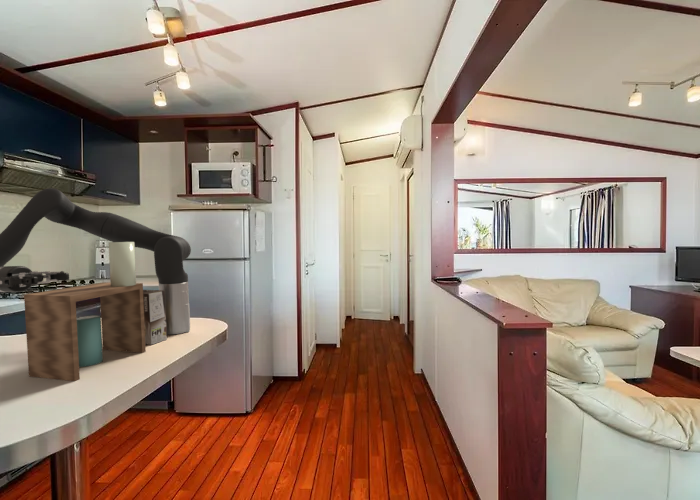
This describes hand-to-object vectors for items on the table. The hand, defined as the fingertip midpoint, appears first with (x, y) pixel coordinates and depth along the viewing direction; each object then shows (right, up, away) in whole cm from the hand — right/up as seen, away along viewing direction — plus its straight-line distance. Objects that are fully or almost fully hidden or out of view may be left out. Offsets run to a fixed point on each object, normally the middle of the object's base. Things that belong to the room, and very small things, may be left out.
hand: (52, 278), depth 100 cm
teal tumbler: (+14, -22, -5) cm, 26 cm away
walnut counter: (+15, -22, -5) cm, 27 cm away
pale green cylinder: (+20, -2, -1) cm, 20 cm away
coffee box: (+19, -21, +14) cm, 32 cm away
